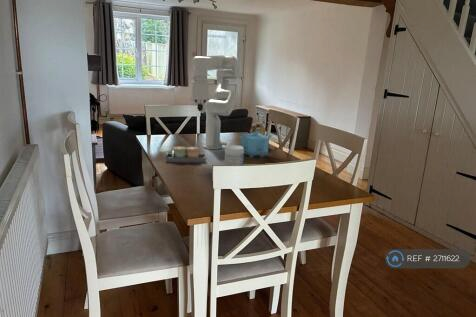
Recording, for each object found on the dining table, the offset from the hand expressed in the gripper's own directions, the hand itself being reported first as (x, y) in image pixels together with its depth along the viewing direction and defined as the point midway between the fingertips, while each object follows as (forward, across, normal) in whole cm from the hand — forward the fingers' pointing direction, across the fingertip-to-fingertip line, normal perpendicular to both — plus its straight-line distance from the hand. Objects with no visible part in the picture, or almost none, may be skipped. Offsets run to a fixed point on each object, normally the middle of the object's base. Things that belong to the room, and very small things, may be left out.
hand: (200, 110), depth 210 cm
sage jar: (+27, -12, -13) cm, 32 cm away
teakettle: (+27, +35, 0) cm, 44 cm away
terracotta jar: (+27, -4, -13) cm, 30 cm away
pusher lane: (+27, -8, -13) cm, 31 cm away
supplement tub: (+27, +16, -38) cm, 49 cm away
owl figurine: (+27, +41, +26) cm, 56 cm away
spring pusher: (+26, -15, -13) cm, 33 cm away
